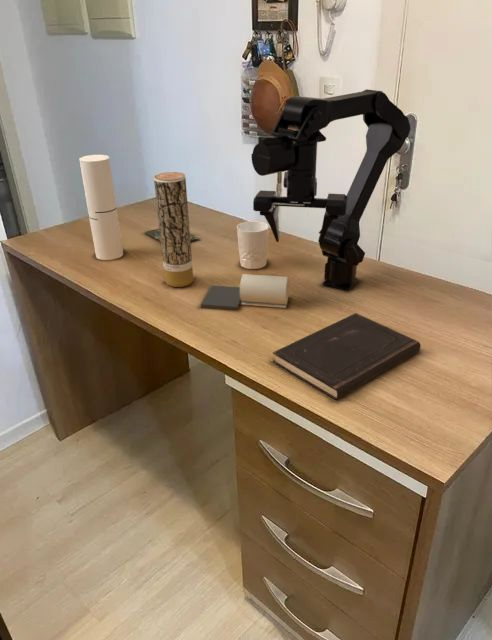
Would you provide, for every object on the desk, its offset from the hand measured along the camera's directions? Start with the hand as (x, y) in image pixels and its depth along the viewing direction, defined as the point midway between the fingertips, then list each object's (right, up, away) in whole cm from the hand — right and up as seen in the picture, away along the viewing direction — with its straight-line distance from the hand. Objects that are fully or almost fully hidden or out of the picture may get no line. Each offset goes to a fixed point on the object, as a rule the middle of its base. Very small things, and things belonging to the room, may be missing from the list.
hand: (299, 242), depth 118 cm
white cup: (-10, -1, +24) cm, 26 cm away
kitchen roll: (-7, -9, +4) cm, 13 cm away
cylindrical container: (-48, +3, +31) cm, 57 cm away
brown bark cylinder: (-28, -6, +16) cm, 32 cm away
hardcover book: (+8, -25, -14) cm, 29 cm away
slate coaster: (-16, -11, +8) cm, 21 cm away
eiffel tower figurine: (-34, +10, +42) cm, 55 cm away
